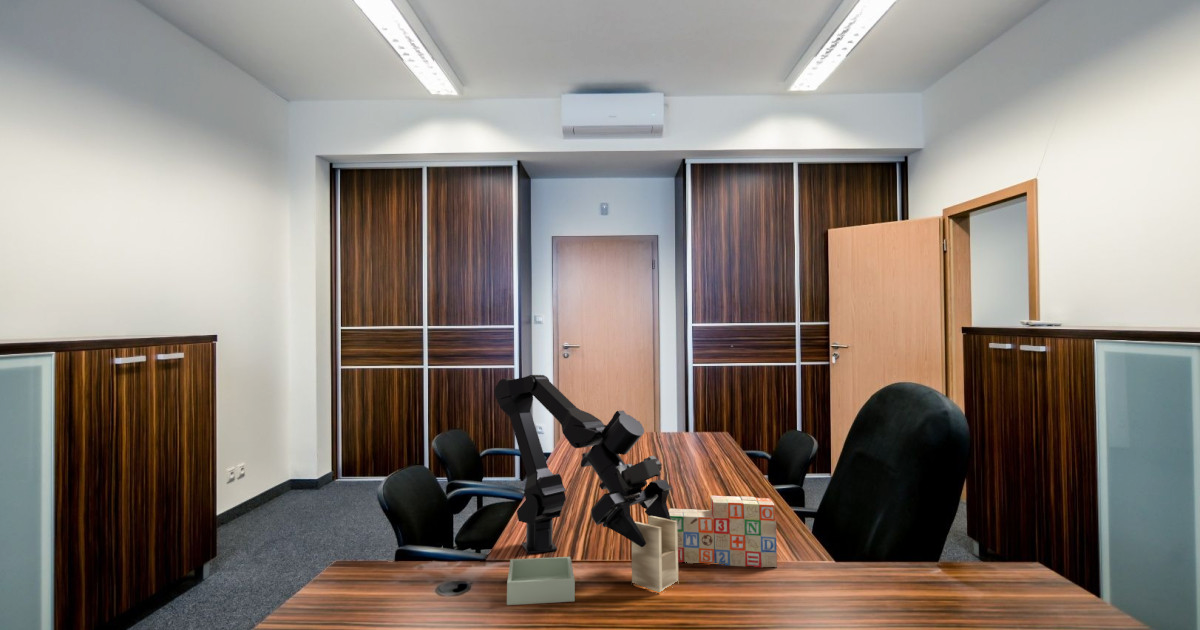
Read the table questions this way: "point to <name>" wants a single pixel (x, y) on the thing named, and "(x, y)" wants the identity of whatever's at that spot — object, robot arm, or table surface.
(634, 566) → the small magazine holder
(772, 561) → the stack of blocks
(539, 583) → the box
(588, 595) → the table surface
